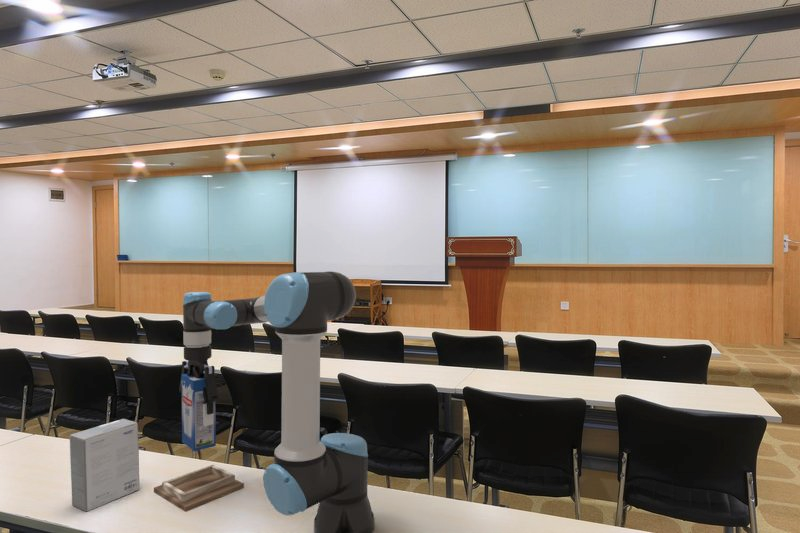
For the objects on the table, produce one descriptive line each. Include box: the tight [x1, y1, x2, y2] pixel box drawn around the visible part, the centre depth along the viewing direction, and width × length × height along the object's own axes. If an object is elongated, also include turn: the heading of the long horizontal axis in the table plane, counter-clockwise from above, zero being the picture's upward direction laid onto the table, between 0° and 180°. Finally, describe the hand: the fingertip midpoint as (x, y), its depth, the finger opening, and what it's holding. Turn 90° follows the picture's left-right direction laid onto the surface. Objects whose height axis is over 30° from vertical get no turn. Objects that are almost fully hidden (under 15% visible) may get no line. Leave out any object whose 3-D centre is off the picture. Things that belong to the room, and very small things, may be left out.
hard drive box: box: [69, 418, 141, 513], centre depth 143 cm, size 16×8×20 cm, turn 149°
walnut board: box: [153, 464, 245, 512], centre depth 148 cm, size 18×18×3 cm
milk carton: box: [180, 373, 217, 452], centre depth 148 cm, size 10×6×20 cm, turn 41°
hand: (198, 421), depth 148 cm, fingers closed on milk carton, 10 cm apart
